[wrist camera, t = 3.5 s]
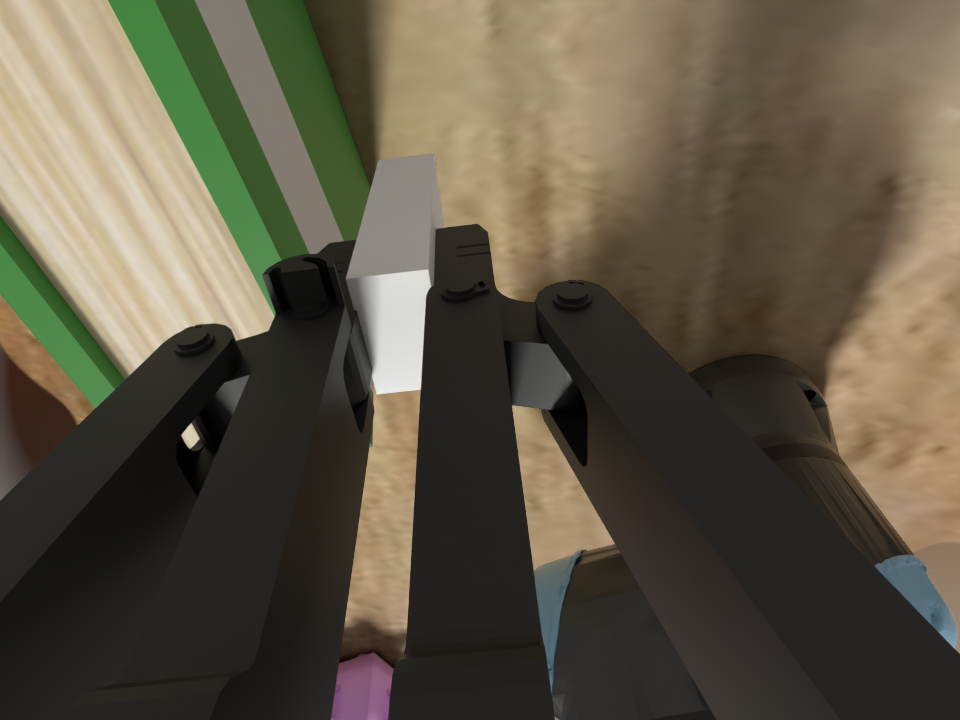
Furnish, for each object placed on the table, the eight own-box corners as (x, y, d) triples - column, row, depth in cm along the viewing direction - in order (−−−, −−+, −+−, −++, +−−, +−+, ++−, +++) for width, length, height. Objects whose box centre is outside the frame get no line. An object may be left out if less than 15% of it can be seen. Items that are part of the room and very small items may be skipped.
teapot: (324, 709, 83) (310, 795, 74) (260, 665, 75) (237, 755, 67) (439, 675, 78) (438, 762, 70) (383, 625, 71) (374, 716, 63)
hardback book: (377, 205, 41) (372, 446, 21) (273, 235, 41) (172, 501, 21) (260, -119, 30) (39, -237, 11) (122, -77, 31) (-341, -116, 11)
